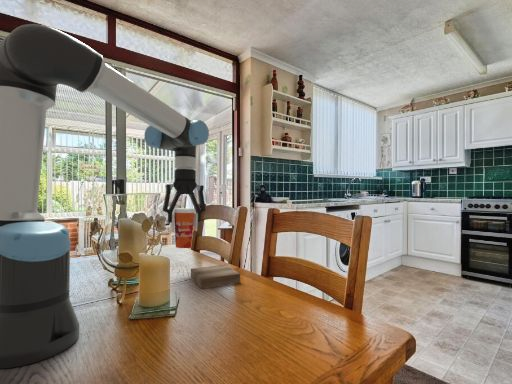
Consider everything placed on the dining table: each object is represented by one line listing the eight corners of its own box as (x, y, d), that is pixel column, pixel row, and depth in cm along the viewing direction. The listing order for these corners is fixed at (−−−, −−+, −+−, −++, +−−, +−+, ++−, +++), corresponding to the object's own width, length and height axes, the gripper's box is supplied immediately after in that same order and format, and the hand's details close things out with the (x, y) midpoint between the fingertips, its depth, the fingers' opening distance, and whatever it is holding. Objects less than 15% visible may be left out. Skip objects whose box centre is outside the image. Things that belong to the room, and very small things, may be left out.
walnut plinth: (240, 282, 94) (240, 273, 94) (201, 288, 88) (201, 279, 88) (225, 272, 105) (225, 264, 105) (190, 277, 99) (190, 268, 99)
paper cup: (172, 249, 99) (173, 209, 100) (172, 245, 107) (173, 208, 107) (195, 248, 102) (196, 209, 102) (194, 244, 109) (194, 208, 109)
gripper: (209, 171, 113) (207, 228, 112) (154, 168, 103) (153, 231, 103) (215, 170, 106) (214, 231, 106) (157, 166, 96) (156, 233, 96)
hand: (184, 231), depth 104 cm, fingers closed on paper cup, 8 cm apart
